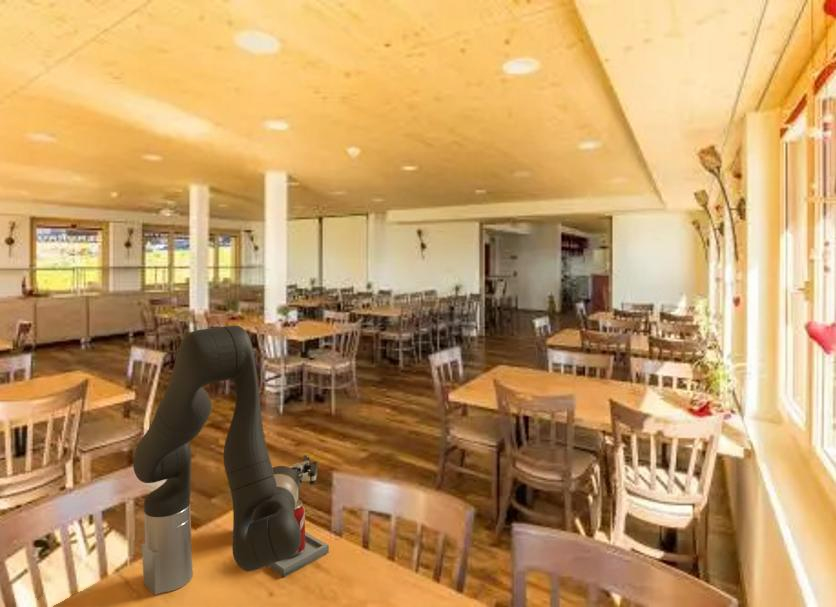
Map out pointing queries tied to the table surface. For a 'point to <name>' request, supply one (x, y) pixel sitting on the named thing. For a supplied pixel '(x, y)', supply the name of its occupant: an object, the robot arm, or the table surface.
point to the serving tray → (301, 556)
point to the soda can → (300, 524)
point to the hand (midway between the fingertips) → (285, 460)
